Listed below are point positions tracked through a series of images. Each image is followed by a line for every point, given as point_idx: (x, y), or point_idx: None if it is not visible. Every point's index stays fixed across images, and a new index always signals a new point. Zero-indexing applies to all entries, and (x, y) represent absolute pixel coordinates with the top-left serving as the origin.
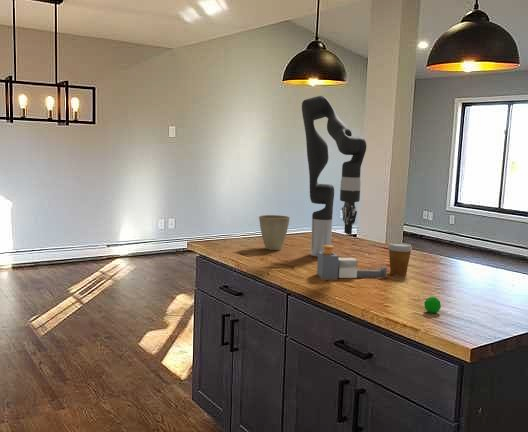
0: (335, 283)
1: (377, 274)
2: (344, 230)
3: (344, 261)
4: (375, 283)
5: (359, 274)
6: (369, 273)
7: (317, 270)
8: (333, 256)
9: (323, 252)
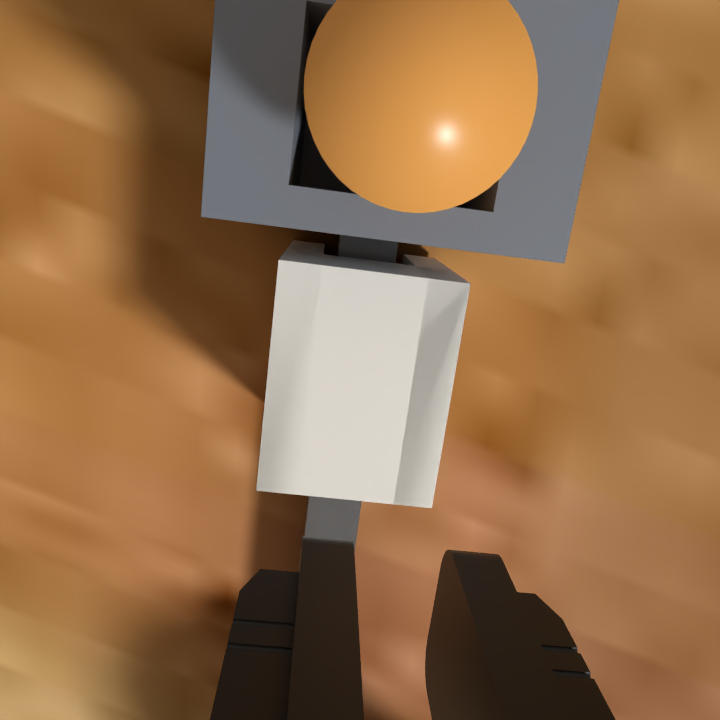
0: (73, 115)
1: None
2: (511, 585)
3: (272, 323)
4: (72, 503)
5: None
6: None
7: None
8: (209, 132)
9: None
